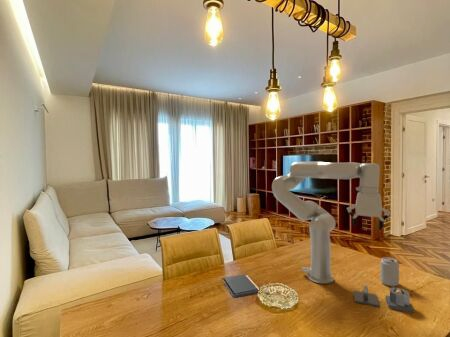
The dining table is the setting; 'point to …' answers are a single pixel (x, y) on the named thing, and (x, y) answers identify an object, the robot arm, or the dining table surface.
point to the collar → (399, 297)
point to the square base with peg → (395, 307)
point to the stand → (366, 297)
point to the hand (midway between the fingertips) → (367, 227)
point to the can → (389, 271)
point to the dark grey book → (240, 286)
